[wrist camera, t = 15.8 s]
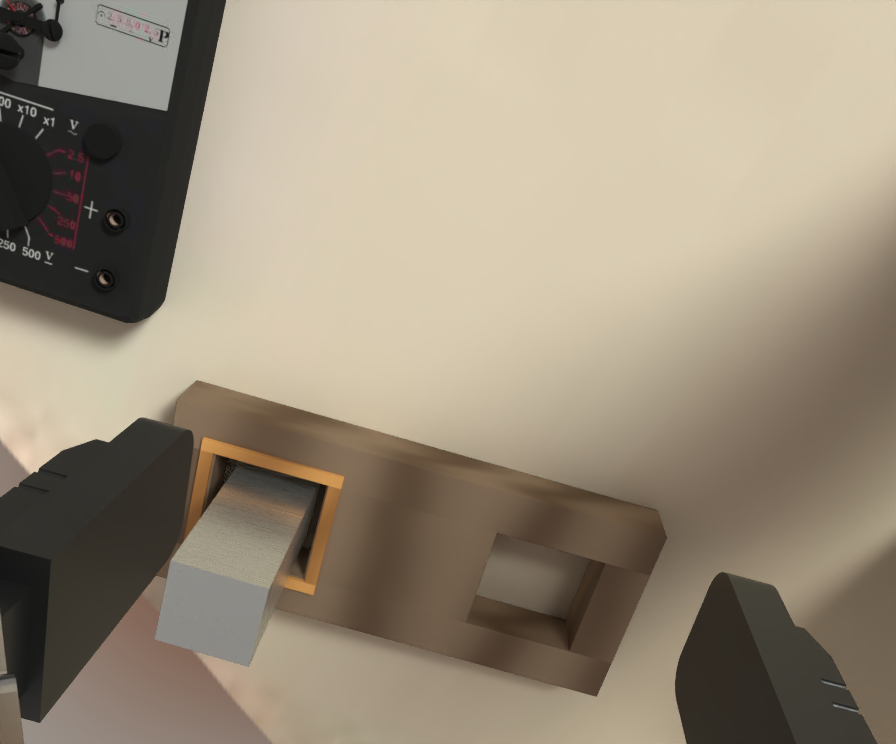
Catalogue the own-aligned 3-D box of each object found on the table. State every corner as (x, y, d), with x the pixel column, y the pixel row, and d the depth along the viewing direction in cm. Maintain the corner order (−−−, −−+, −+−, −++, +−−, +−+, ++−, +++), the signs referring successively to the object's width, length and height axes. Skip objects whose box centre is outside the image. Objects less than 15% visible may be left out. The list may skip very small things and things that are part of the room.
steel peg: (323, 472, 40) (268, 589, 31) (306, 536, 42) (248, 666, 32) (248, 450, 40) (170, 560, 31) (233, 515, 42) (154, 639, 32)
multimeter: (-96, 222, 38) (-181, 241, 33) (-61, -239, 31) (-160, -297, 27) (167, 309, 38) (120, 340, 34) (257, -125, 32) (214, -162, 27)
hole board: (657, 510, 40) (667, 539, 37) (591, 663, 43) (597, 699, 41) (196, 380, 39) (175, 400, 36) (167, 546, 42) (146, 575, 40)
